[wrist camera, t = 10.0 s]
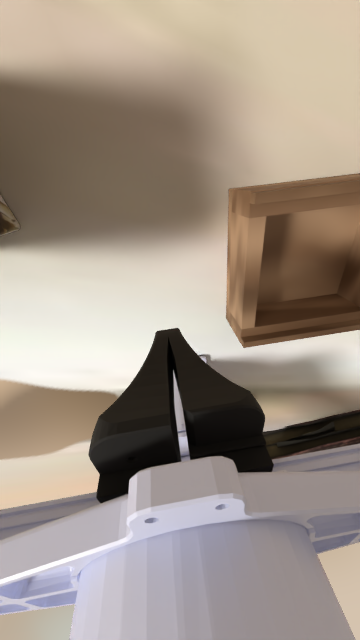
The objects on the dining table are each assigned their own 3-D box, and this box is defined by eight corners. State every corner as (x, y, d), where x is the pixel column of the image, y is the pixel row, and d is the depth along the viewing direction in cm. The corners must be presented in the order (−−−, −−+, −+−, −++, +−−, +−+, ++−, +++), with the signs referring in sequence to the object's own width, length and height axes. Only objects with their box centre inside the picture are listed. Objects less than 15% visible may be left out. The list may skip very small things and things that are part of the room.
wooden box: (337, 301, 25) (378, 327, 21) (226, 318, 24) (243, 348, 20) (380, 170, 18) (455, 167, 14) (228, 189, 18) (256, 191, 13)
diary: (349, 451, 49) (368, 477, 44) (239, 476, 49) (248, 504, 44) (376, 400, 38) (404, 428, 34) (236, 432, 38) (247, 464, 34)
